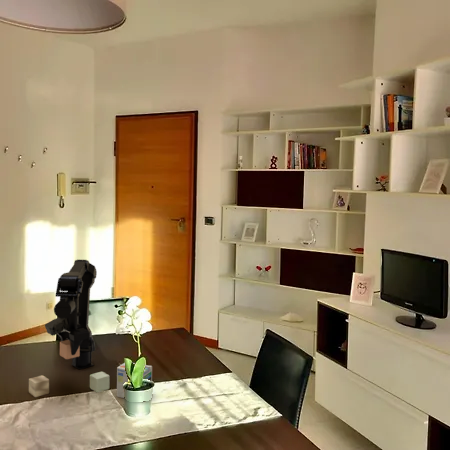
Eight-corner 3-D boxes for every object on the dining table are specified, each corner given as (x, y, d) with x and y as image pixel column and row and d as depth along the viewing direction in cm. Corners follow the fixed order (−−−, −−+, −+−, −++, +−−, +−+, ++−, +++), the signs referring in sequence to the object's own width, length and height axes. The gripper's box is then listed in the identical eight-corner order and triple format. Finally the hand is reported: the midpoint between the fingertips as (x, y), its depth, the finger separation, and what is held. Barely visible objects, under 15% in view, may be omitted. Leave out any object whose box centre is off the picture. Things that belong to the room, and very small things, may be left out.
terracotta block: (72, 352, 191) (72, 338, 190) (79, 356, 187) (79, 342, 187) (59, 355, 188) (59, 341, 187) (66, 359, 184) (66, 345, 183)
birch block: (42, 388, 188) (42, 375, 187) (49, 393, 184) (48, 379, 183) (28, 392, 184) (28, 378, 184) (35, 397, 181) (35, 383, 180)
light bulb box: (152, 394, 186) (153, 365, 185) (143, 402, 180) (143, 372, 178) (125, 389, 189) (126, 360, 188) (115, 397, 183) (116, 367, 182)
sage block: (102, 384, 193) (102, 371, 192) (109, 389, 189) (109, 375, 189) (89, 388, 190) (89, 374, 189) (96, 392, 186) (97, 379, 185)
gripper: (36, 307, 187) (36, 350, 188) (61, 320, 173) (60, 366, 175) (65, 303, 194) (65, 344, 196) (91, 314, 181) (90, 358, 183)
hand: (69, 352), depth 187 cm, fingers closed on terracotta block, 5 cm apart
